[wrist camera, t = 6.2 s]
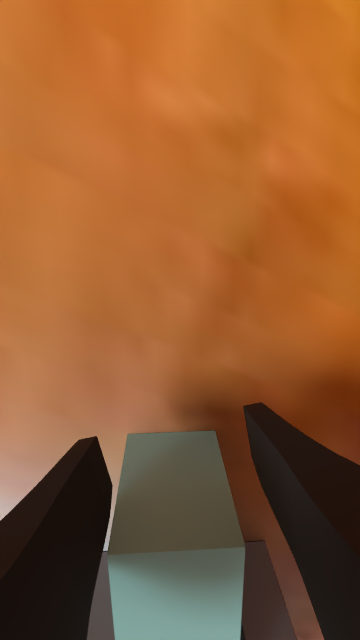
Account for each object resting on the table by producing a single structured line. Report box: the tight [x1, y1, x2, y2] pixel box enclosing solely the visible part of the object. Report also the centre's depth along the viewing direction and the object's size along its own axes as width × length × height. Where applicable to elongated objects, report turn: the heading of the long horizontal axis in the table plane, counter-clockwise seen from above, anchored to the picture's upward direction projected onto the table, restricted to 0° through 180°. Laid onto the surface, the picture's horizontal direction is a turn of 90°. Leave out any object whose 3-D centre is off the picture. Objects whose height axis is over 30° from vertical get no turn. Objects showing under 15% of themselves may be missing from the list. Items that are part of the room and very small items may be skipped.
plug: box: [107, 431, 245, 640], centre depth 13 cm, size 4×10×6 cm, turn 1°
